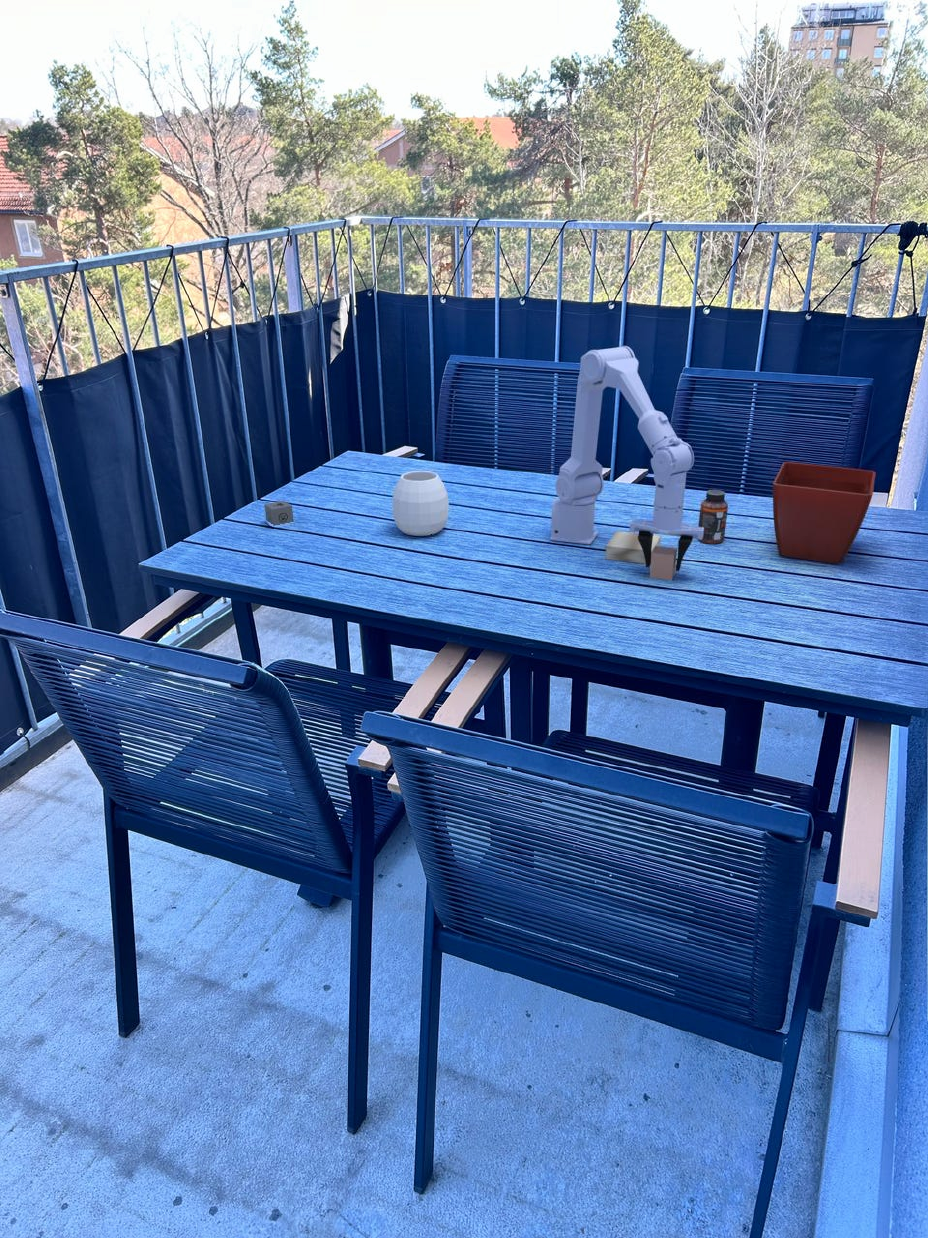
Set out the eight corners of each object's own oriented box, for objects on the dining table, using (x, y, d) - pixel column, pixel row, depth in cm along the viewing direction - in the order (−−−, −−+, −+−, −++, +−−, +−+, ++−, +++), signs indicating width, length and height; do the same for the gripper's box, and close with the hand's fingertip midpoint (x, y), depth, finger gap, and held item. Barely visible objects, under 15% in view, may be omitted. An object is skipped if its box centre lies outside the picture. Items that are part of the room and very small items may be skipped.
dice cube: (294, 525, 215) (292, 505, 213) (274, 529, 213) (272, 509, 211) (285, 519, 219) (283, 500, 217) (266, 523, 216) (264, 504, 214)
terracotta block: (649, 577, 183) (651, 552, 180) (653, 569, 186) (655, 545, 184) (671, 580, 181) (674, 555, 179) (674, 572, 185) (677, 547, 183)
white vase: (384, 536, 207) (380, 480, 201) (408, 519, 218) (405, 465, 212) (435, 543, 202) (434, 486, 196) (457, 525, 213) (456, 470, 207)
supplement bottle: (724, 545, 199) (730, 496, 194) (697, 543, 200) (702, 495, 195) (723, 536, 204) (728, 488, 199) (696, 534, 205) (701, 487, 200)
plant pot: (862, 543, 199) (876, 469, 192) (857, 573, 183) (872, 494, 176) (773, 531, 206) (783, 460, 199) (761, 559, 191) (772, 483, 183)
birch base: (605, 558, 192) (606, 545, 191) (615, 543, 201) (615, 530, 199) (651, 564, 189) (653, 551, 188) (659, 548, 197) (660, 535, 196)
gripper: (628, 506, 176) (624, 570, 182) (703, 514, 172) (696, 579, 177) (635, 496, 182) (630, 558, 188) (707, 503, 177) (700, 566, 183)
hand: (663, 567), depth 183 cm, fingers open, 5 cm apart
